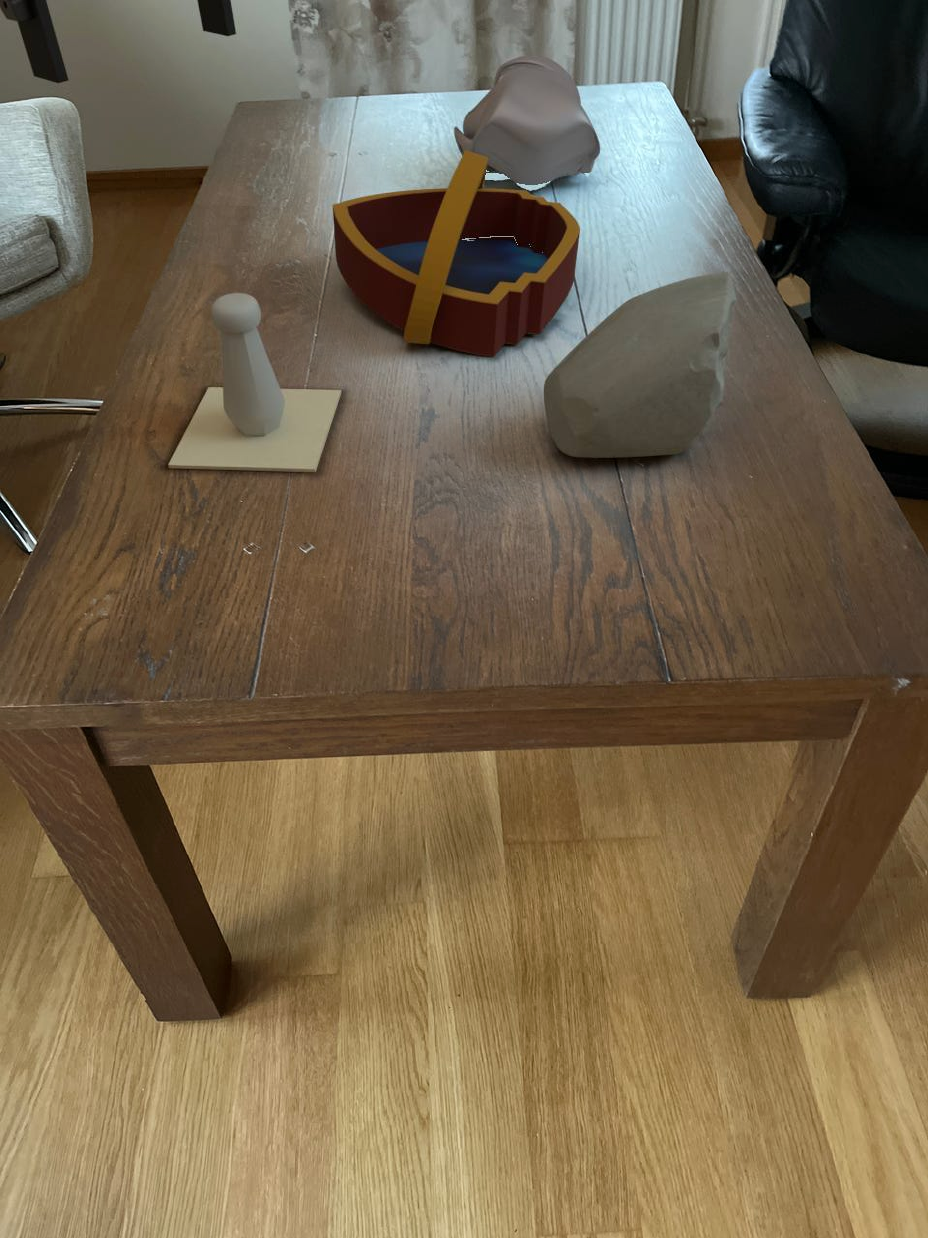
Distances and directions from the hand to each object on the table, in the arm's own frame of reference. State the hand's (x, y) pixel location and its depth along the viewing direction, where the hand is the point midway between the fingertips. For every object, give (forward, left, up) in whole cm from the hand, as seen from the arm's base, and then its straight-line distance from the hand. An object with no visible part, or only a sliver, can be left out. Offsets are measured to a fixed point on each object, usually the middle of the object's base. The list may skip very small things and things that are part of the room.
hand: (140, 54), depth 63 cm
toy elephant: (+75, +24, -35) cm, 86 cm away
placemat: (+7, +5, -35) cm, 36 cm away
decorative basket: (+42, +9, -35) cm, 55 cm away
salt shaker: (+7, +5, -34) cm, 36 cm away
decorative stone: (+28, -25, -35) cm, 51 cm away
